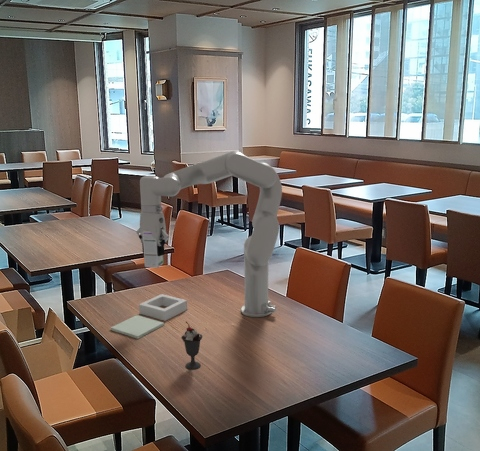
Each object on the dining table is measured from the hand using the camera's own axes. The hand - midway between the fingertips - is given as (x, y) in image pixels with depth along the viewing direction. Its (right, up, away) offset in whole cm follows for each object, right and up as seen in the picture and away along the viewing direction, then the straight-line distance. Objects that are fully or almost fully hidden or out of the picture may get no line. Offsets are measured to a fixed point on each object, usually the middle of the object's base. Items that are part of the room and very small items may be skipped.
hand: (153, 253), depth 201 cm
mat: (-5, -28, -5) cm, 29 cm away
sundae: (+18, -35, -34) cm, 52 cm away
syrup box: (0, -5, +1) cm, 5 cm away
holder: (+2, -24, +10) cm, 26 cm away
